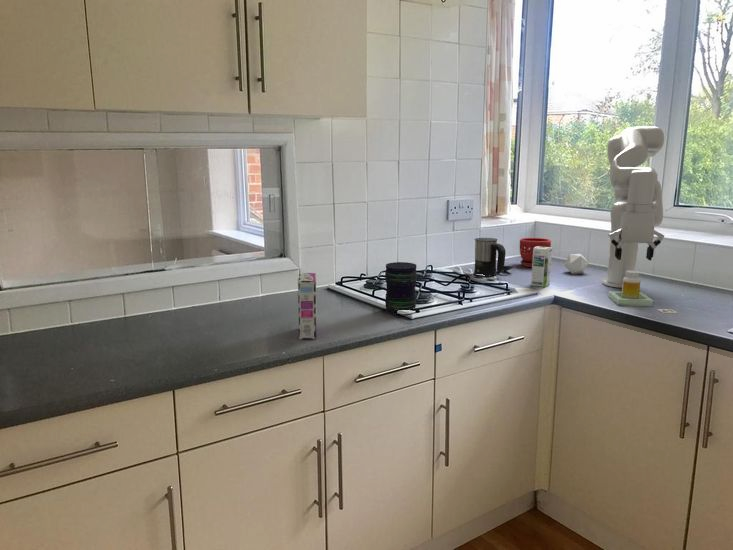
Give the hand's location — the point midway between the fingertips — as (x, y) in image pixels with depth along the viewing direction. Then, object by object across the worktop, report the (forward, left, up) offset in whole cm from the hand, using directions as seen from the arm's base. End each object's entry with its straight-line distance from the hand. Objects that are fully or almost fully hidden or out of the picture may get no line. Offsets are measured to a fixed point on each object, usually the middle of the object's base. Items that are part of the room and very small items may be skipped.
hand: (633, 259), depth 191 cm
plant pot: (-57, -23, -15) cm, 63 cm away
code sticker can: (+12, +8, -14) cm, 20 cm away
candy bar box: (+48, -100, -15) cm, 112 cm away
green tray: (+1, 0, -14) cm, 14 cm away
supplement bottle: (+1, 0, -14) cm, 14 cm away
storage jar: (+22, -76, -15) cm, 81 cm away
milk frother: (-38, -42, -15) cm, 59 cm away
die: (-44, -8, -15) cm, 47 cm away
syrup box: (-20, -26, -15) cm, 36 cm away
